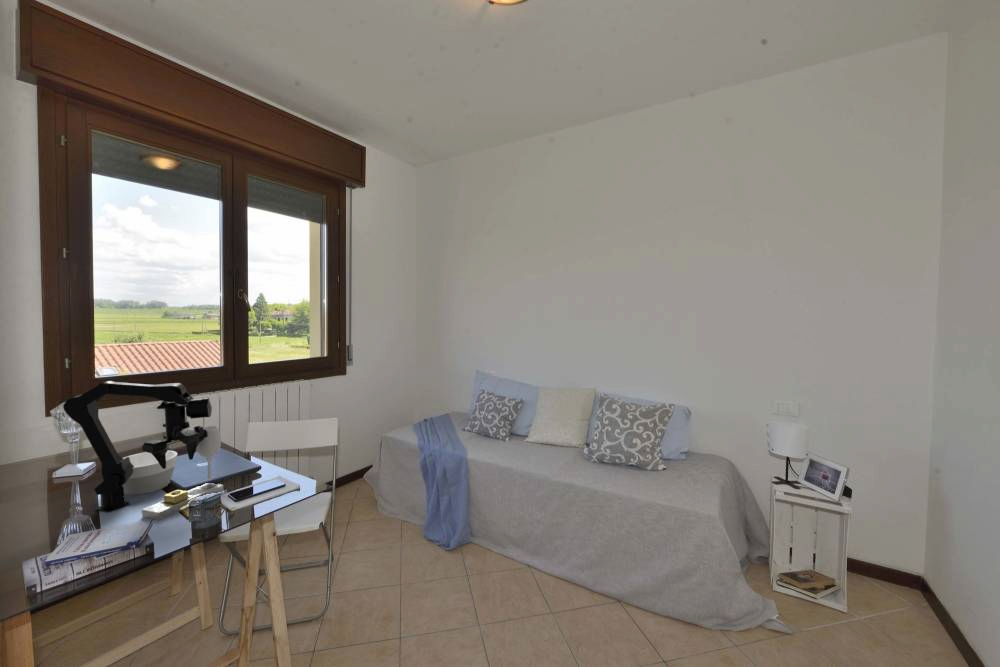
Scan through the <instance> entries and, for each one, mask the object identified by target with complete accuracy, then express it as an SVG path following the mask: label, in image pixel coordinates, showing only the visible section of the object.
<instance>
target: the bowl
mask: <svg viewBox="0 0 1000 667" xmlns="http://www.w3.org/2000/svg"><path fill="white" fill-rule="evenodd" d="M165 456H166V468H165V469H163V468H162V467H161V466H160V464H159V463H158V461H157V460H156V458H155V457H154V456H153V455H152V454H151V453H147V452H145V451H143V452H139V453H136V454H135V453H134V454H131V455H128V456H125V457H122V458H123V459H125V458H126V457H129V459H130V462H131V464H132V465H133V466H134V467H133V473H132V475H131V477H129V478H128V479H127V481H126V483H125V484H123V485H122V486H123V488H124V495H127V496H133V495H134V496H135V495H142V494H143V495H144V494H148V492H149V493H153V492H155V491H159V490H162V489H164V488H165V487H168V486H169V485H170V484H171V482H170V480H171V481H172V478H171V477H173V474H174V470H175V465H176V461H177V458H178V452H177V451H174V450H168V451H167V452H166V454H165ZM169 483H170V484H169ZM168 484H169V485H168ZM152 491H153V492H152Z"/></svg>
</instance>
